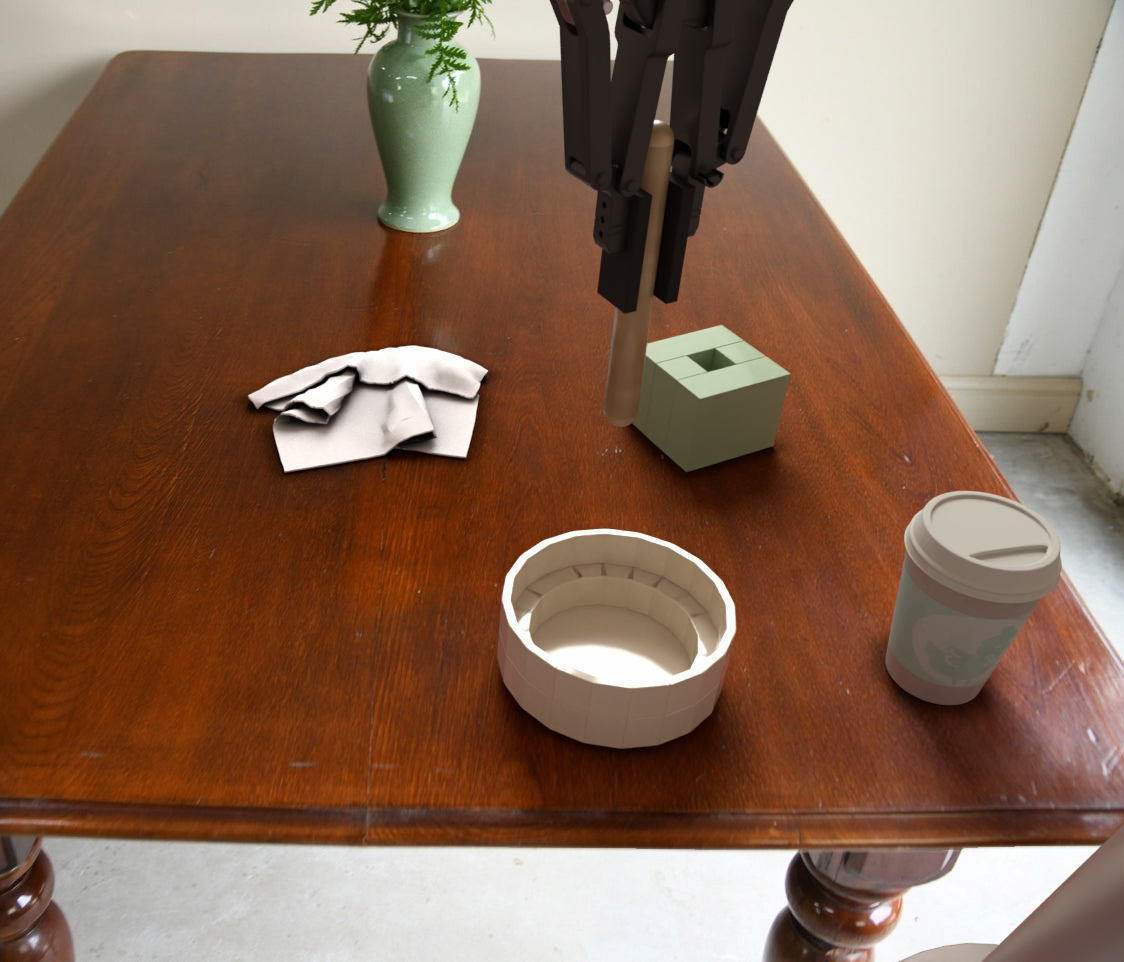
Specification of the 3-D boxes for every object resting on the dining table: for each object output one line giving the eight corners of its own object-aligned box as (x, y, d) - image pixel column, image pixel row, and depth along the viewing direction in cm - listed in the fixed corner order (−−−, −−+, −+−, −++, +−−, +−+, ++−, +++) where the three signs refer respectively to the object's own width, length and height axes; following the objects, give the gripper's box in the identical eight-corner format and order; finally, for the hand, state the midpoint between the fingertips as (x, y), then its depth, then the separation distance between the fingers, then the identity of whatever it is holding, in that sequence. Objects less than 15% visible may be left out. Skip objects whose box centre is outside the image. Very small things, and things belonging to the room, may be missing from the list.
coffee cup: (858, 700, 71) (910, 555, 64) (867, 612, 77) (914, 472, 70) (1006, 739, 69) (1077, 593, 61) (1002, 645, 75) (1066, 503, 68)
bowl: (766, 710, 70) (785, 641, 67) (571, 788, 66) (581, 719, 62) (636, 573, 81) (647, 507, 77) (460, 631, 76) (462, 564, 72)
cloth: (509, 364, 104) (511, 341, 102) (444, 504, 87) (445, 478, 86) (303, 331, 109) (301, 308, 107) (203, 457, 92) (200, 432, 91)
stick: (642, 428, 66) (684, 123, 56) (613, 436, 66) (651, 129, 55) (623, 412, 68) (661, 112, 57) (595, 420, 67) (628, 117, 57)
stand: (773, 446, 93) (791, 373, 89) (686, 472, 90) (700, 399, 86) (708, 394, 100) (721, 324, 96) (624, 417, 97) (634, 346, 93)
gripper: (789, -221, 53) (707, 245, 67) (507, -206, 48) (483, 294, 62) (907, -205, 47) (791, 299, 61) (603, -186, 42) (553, 357, 56)
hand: (637, 296), depth 62 cm, fingers closed on stick, 2 cm apart
